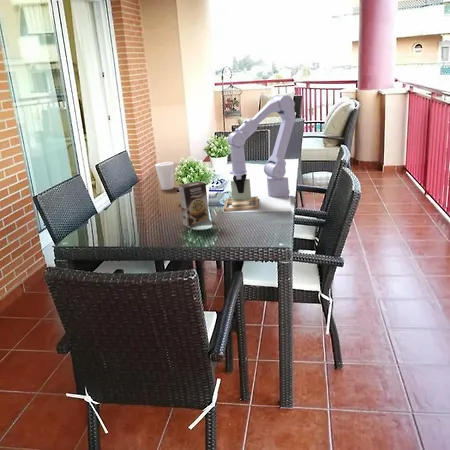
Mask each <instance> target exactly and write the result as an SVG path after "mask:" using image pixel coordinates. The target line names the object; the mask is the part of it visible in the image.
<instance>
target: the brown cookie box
mask: <svg viewBox="0 0 450 450" xmlns="http://www.w3.org/2000/svg"><path fill="white" fill-rule="evenodd" d="M178 191H179V193H178V194H179V199H180V208H181V217H182V218H181V219H182V224H183V226H185V227H187V228H188V229H191V228H195V227H199V226H201V224H198V223H203V222H206V221H210V211H209V204H208V195H207V183H206V182H203V181H193V182H189V183H183V184H178ZM193 224H194V225H193ZM195 224H196V225H195Z"/></svg>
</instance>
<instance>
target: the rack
mask: <svg viewBox="0 0 450 450" xmlns="http://www.w3.org/2000/svg"><path fill="white" fill-rule="evenodd" d="M241 201H249V204H250V203H251V204H252V203H255V204H254V205H252V206H244V207H232V206H229V207H228V205H232V202H241ZM222 209H223V212H233V211H236V212H237V211H249V210H258V209H259V196H258V195H257V196H256V195H255V196H251V199H249V200H235V201H233V199H232V197H230V198H225V201H224V204H223V207H222Z"/></svg>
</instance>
